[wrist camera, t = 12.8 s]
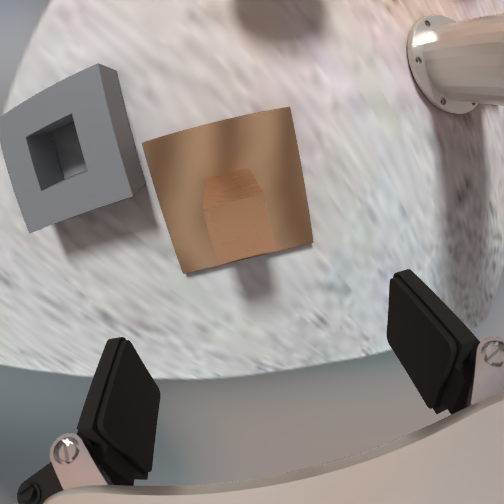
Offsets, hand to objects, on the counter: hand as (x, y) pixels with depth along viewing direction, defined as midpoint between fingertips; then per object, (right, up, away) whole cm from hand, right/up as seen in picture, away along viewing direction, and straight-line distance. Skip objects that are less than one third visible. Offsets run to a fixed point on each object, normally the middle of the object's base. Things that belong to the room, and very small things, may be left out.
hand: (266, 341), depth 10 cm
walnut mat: (-2, +9, +20) cm, 22 cm away
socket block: (-18, +14, +16) cm, 28 cm away
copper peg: (-2, +9, +19) cm, 21 cm away
